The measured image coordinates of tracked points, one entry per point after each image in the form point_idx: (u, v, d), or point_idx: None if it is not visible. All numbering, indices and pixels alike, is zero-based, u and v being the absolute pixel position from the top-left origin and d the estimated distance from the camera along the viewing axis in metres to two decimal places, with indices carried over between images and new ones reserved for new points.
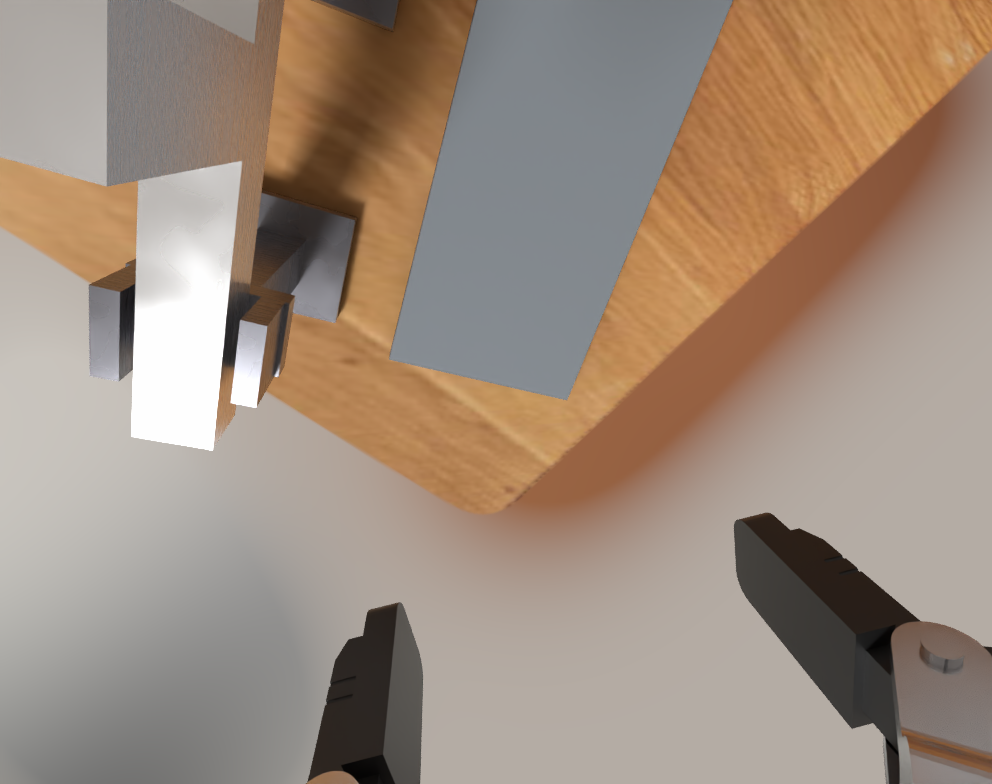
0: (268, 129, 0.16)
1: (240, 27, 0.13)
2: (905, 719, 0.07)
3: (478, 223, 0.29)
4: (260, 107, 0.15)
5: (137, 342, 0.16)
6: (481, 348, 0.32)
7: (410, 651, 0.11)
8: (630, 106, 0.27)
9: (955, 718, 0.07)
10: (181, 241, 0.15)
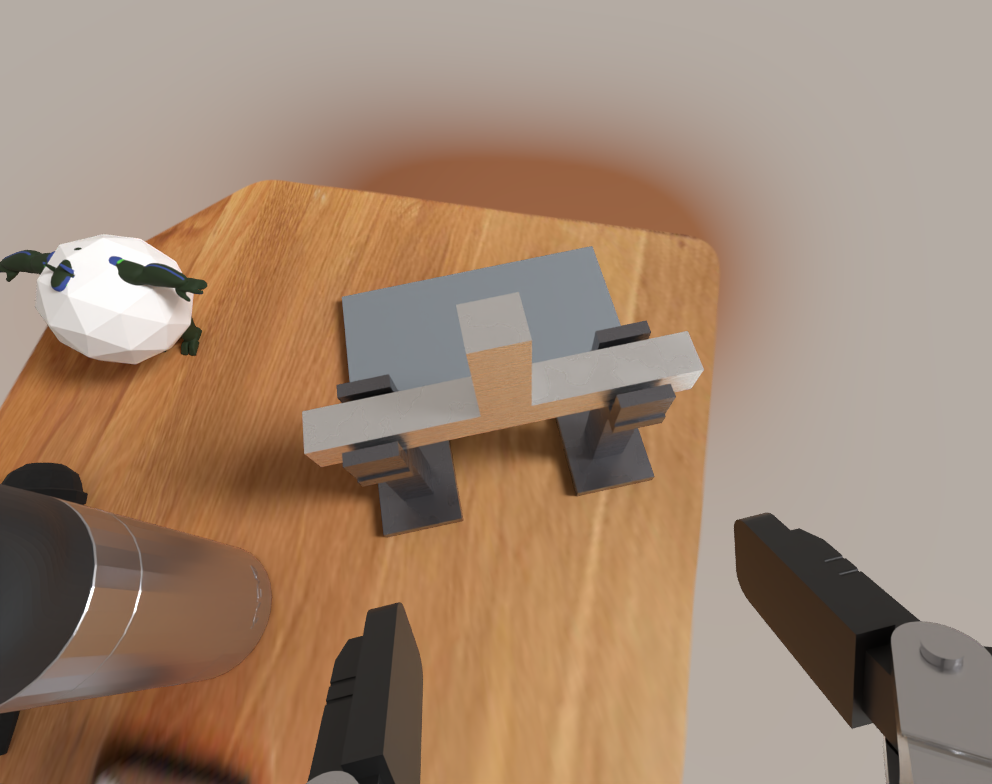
0: None
1: (469, 382, 0.29)
2: (905, 719, 0.07)
3: None
4: None
5: (640, 380, 0.28)
6: (589, 308, 0.46)
7: (410, 651, 0.11)
8: (418, 309, 0.47)
9: (955, 718, 0.07)
10: (573, 377, 0.28)
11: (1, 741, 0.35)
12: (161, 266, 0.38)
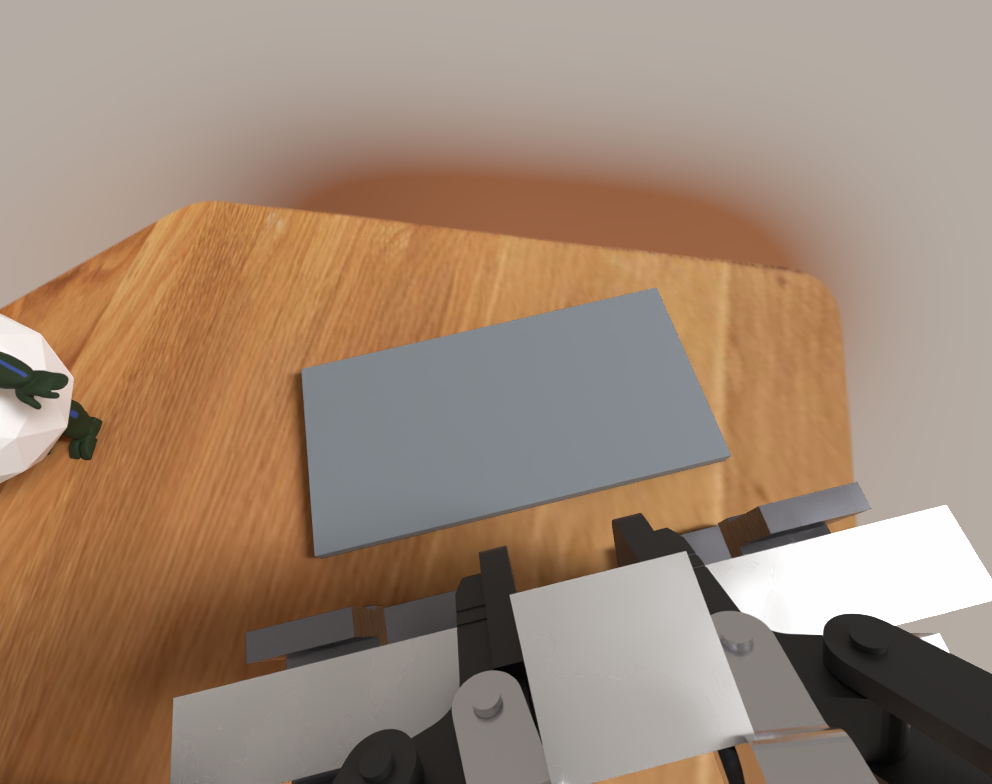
0: None
1: None
2: None
3: (559, 445, 0.30)
4: None
5: None
6: (661, 382, 0.31)
7: (516, 589, 0.13)
8: (411, 386, 0.32)
9: (766, 698, 0.08)
10: None
11: None
12: None
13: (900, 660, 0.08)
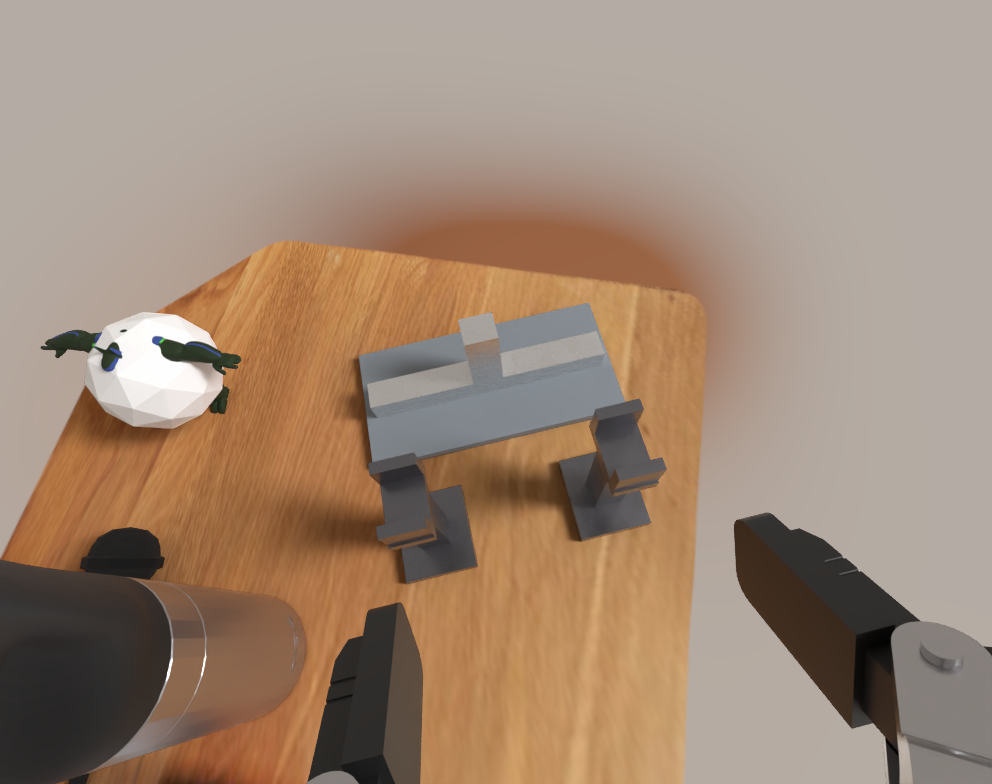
0: None
1: (466, 364, 0.48)
2: (905, 719, 0.07)
3: (522, 401, 0.49)
4: None
5: (567, 361, 0.47)
6: None
7: (410, 651, 0.11)
8: (429, 366, 0.51)
9: (956, 718, 0.07)
10: (528, 360, 0.48)
11: None
12: (199, 344, 0.42)
13: None
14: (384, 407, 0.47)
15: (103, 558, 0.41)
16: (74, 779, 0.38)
